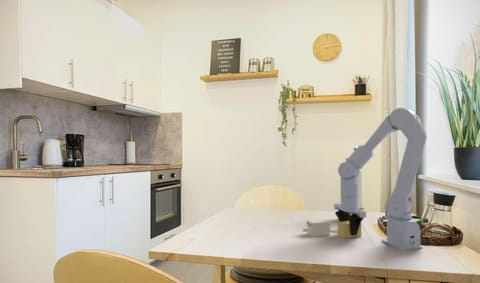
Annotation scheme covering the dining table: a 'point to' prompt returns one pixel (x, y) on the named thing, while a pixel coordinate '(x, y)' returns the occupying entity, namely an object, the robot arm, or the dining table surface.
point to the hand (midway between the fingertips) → (349, 233)
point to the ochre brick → (346, 230)
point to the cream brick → (318, 227)
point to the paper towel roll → (359, 190)
